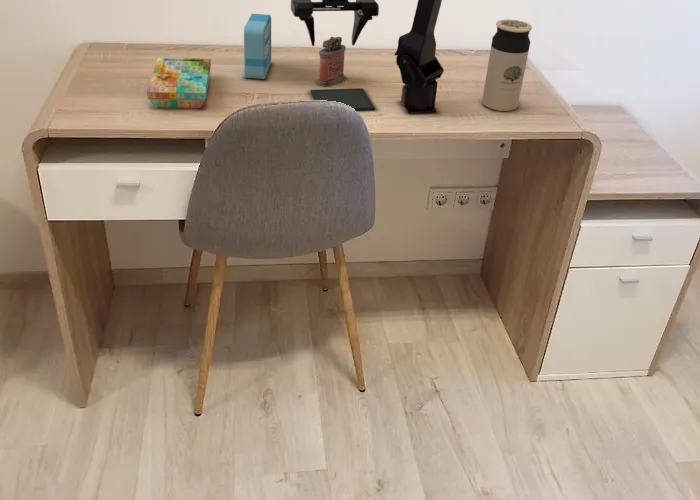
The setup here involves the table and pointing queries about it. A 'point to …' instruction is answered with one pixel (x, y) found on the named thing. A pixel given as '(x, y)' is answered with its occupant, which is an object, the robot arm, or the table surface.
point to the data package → (257, 46)
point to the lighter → (331, 62)
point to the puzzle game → (179, 82)
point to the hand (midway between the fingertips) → (333, 45)
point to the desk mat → (345, 97)
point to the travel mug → (506, 65)
